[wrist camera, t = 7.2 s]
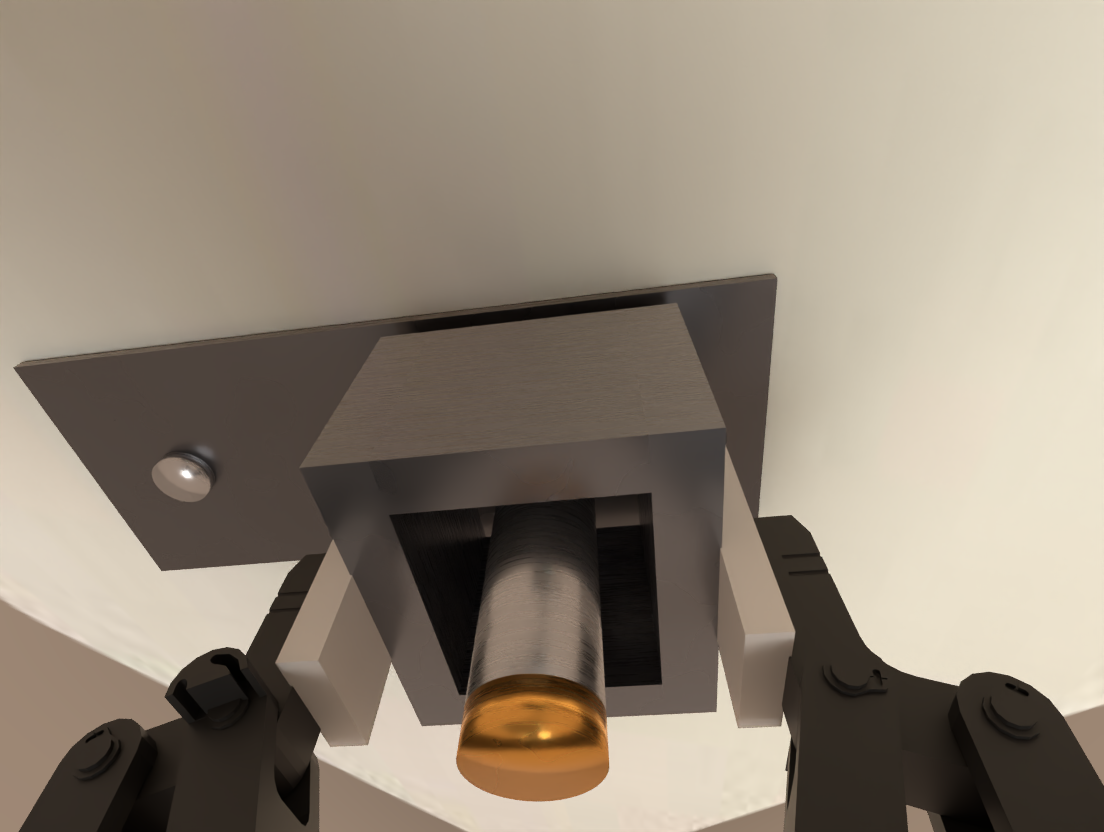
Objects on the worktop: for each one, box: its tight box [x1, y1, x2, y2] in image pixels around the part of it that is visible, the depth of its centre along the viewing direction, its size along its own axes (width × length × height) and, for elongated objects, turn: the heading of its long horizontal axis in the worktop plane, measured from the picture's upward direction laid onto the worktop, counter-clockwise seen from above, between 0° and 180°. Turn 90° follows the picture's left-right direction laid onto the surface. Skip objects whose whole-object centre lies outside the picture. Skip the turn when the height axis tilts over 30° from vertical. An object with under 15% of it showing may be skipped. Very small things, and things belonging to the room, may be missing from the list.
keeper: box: [13, 274, 777, 801], centre depth 13 cm, size 8×20×9 cm, turn 98°
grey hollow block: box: [299, 303, 726, 726], centre depth 14 cm, size 8×7×5 cm
